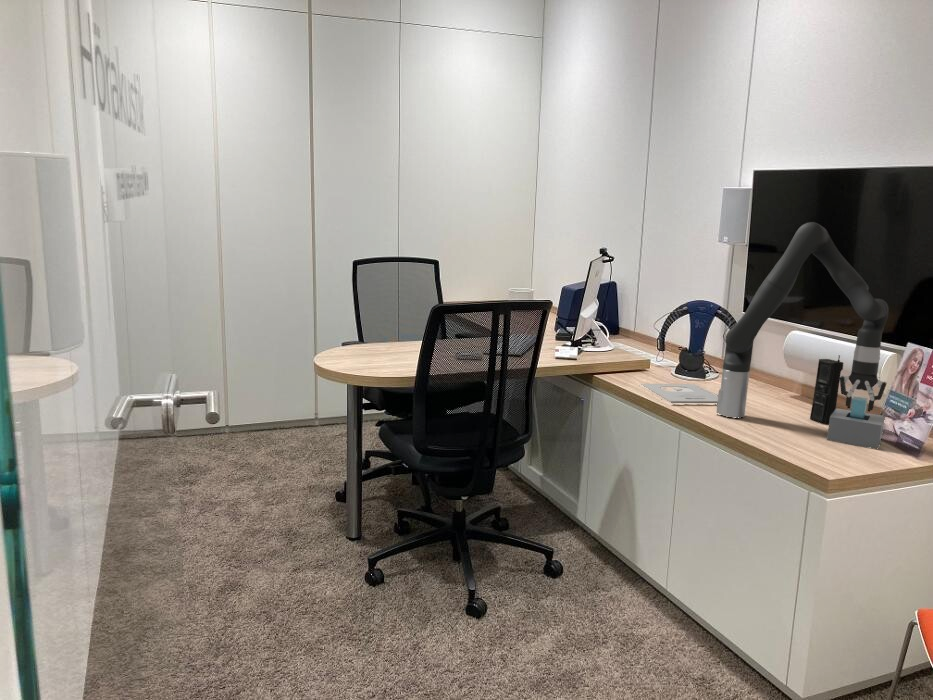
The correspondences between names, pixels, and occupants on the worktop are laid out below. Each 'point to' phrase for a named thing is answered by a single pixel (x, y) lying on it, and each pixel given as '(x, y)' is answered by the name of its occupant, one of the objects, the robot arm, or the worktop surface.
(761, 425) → the worktop surface
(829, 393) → the portable radio
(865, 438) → the block
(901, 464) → the worktop surface
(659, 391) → the award plaque
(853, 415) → the teal rectangular block
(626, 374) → the worktop surface
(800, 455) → the worktop surface
